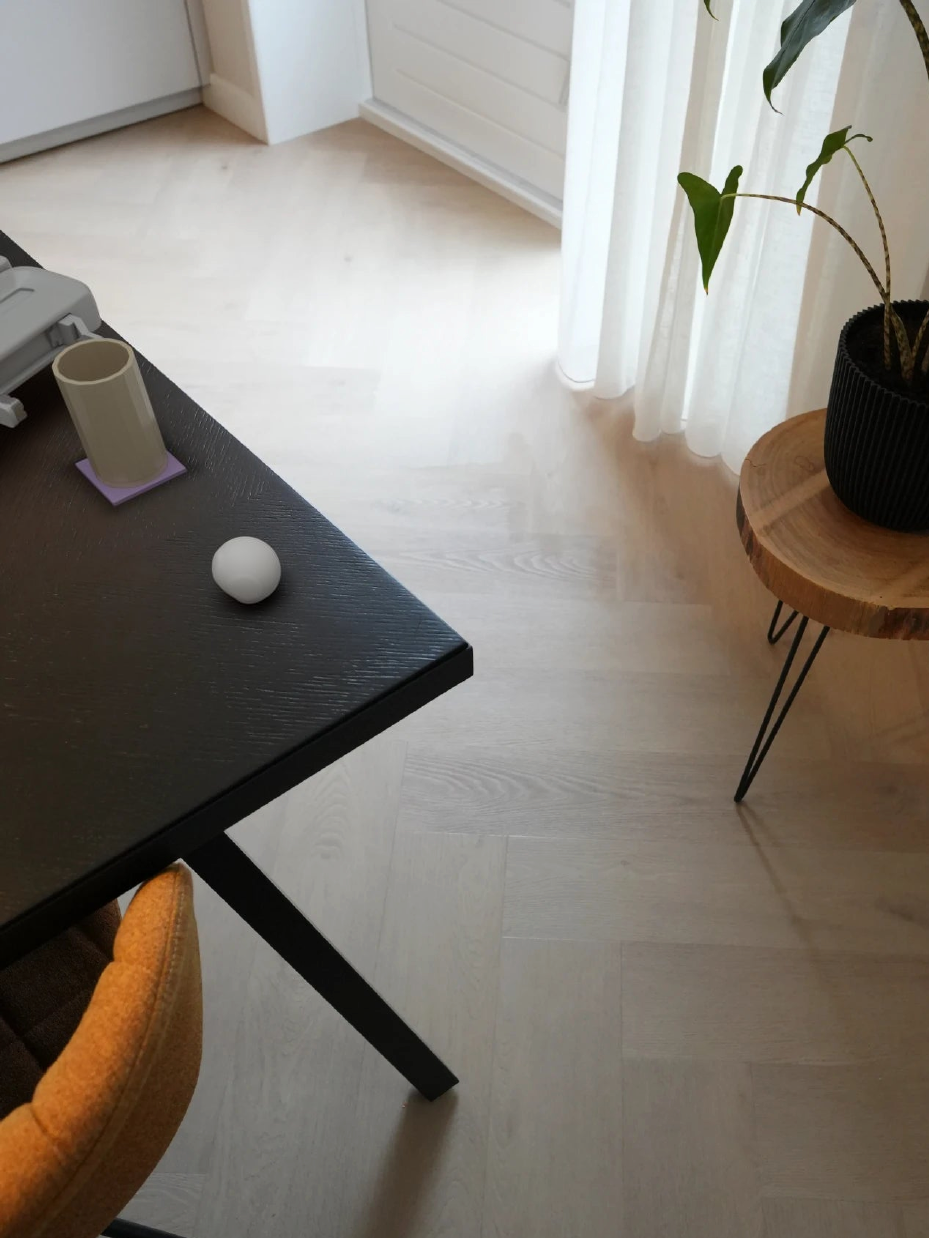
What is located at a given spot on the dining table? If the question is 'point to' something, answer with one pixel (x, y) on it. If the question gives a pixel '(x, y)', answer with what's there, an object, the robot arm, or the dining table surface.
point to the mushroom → (246, 569)
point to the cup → (111, 411)
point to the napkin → (124, 494)
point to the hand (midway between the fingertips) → (61, 382)
